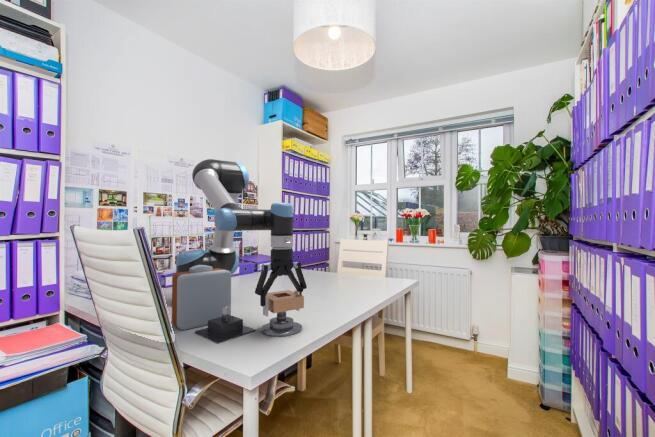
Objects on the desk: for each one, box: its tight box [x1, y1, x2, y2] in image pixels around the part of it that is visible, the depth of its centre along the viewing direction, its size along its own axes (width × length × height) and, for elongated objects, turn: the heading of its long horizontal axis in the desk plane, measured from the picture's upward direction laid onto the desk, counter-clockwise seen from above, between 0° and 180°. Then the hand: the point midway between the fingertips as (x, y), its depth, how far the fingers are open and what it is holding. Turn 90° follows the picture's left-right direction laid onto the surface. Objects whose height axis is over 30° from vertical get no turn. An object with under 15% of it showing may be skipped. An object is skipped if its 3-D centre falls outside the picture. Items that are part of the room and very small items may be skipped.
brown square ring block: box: [259, 289, 305, 314], centre depth 107 cm, size 11×11×4 cm
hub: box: [260, 311, 303, 338], centre depth 107 cm, size 14×14×9 cm
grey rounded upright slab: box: [171, 265, 232, 331], centre depth 113 cm, size 18×9×21 cm, turn 134°
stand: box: [194, 305, 257, 344], centre depth 104 cm, size 14×14×8 cm
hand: (281, 312), depth 107 cm, fingers closed on brown square ring block, 11 cm apart
